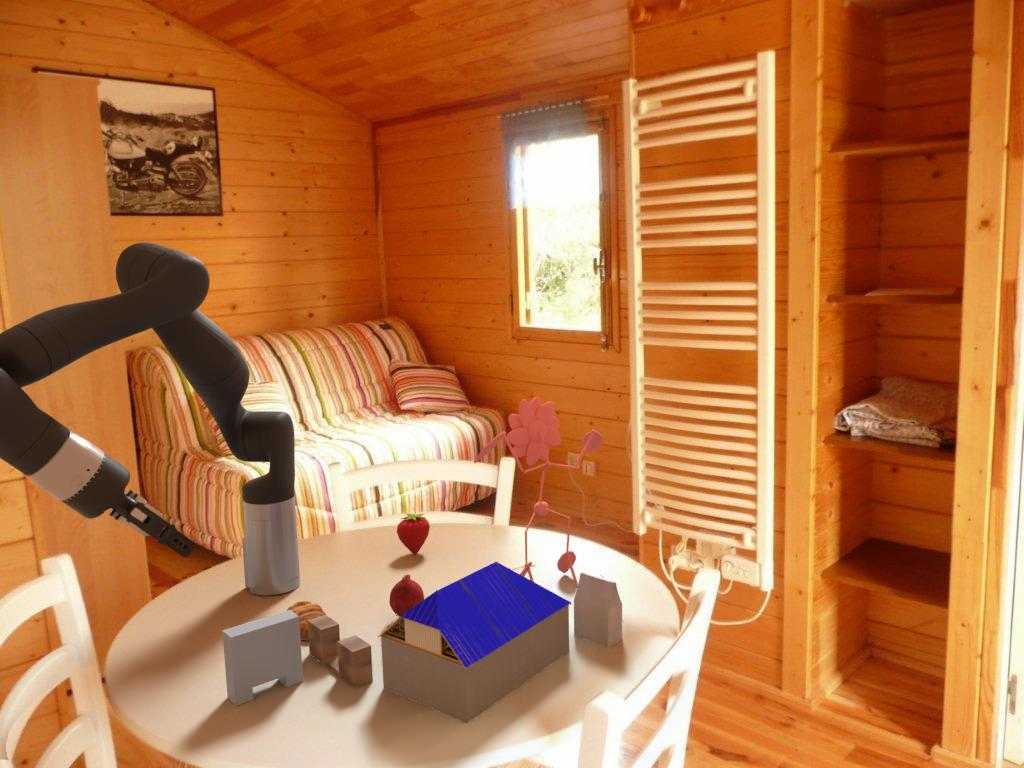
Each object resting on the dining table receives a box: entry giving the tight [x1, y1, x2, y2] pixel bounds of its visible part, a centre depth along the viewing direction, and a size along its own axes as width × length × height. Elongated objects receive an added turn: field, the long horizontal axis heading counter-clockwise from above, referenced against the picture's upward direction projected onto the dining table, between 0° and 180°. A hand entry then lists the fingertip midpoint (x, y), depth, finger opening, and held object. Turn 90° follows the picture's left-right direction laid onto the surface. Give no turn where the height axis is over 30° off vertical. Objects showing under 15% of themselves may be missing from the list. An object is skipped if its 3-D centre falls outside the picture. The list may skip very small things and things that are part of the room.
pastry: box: [285, 600, 327, 642], centre depth 138 cm, size 9×7×4 cm
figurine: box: [473, 396, 605, 586], centre depth 155 cm, size 15×26×35 cm, turn 124°
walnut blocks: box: [308, 614, 374, 689], centre depth 125 cm, size 14×3×6 cm, turn 40°
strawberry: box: [396, 508, 431, 555], centre depth 172 cm, size 6×8×10 cm
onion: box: [389, 573, 425, 618], centre depth 141 cm, size 6×6×8 cm
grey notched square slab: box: [222, 610, 304, 707], centre depth 119 cm, size 10×3×10 cm, turn 130°
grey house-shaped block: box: [573, 572, 623, 649], centre depth 133 cm, size 4×7×10 cm, turn 47°
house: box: [377, 561, 572, 724], centre depth 123 cm, size 25×16×16 cm, turn 143°
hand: (179, 543), depth 112 cm, fingers open, 8 cm apart
